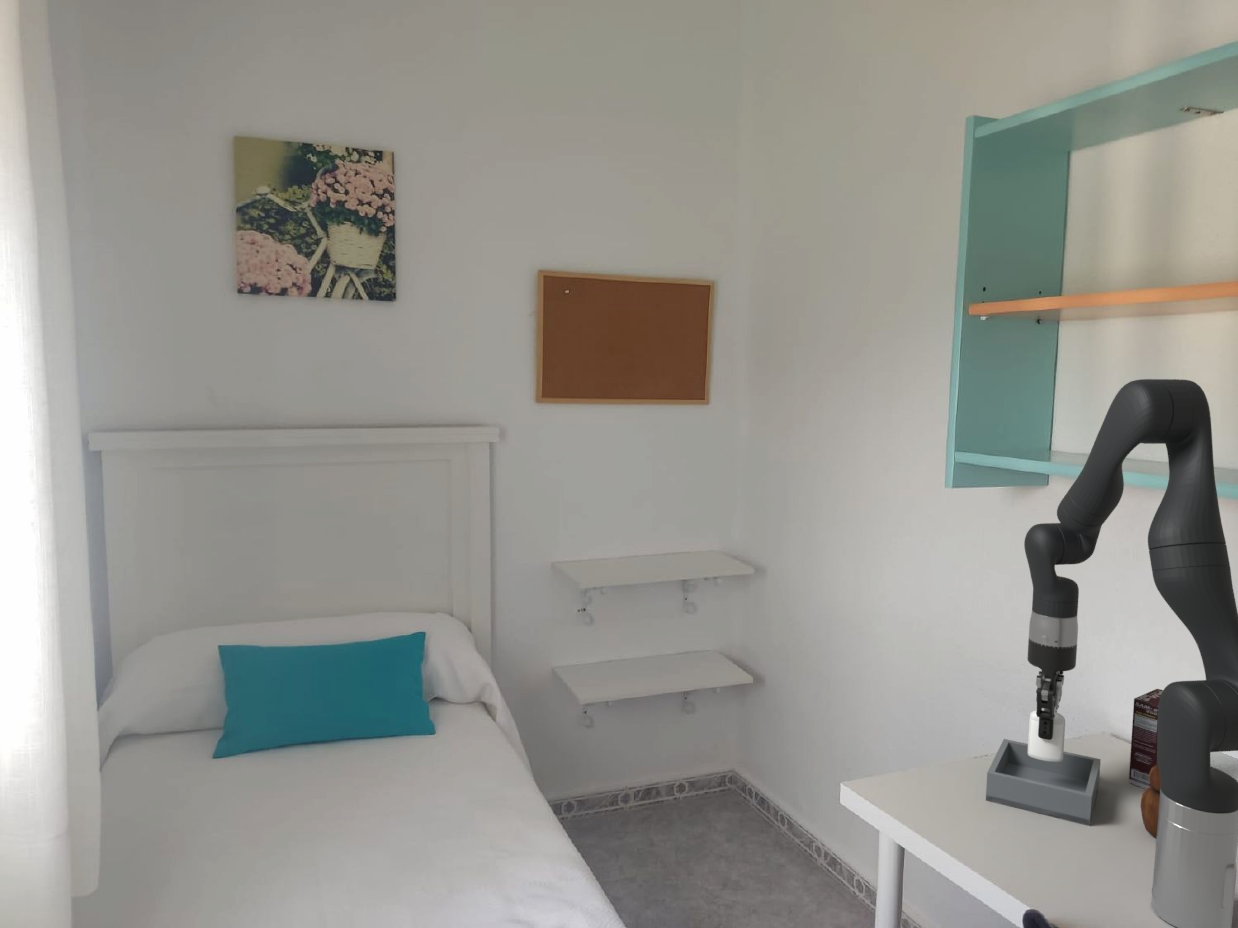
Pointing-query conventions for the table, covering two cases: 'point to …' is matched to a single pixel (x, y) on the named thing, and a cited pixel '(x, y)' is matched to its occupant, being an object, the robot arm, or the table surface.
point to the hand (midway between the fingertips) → (1046, 733)
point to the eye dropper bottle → (1044, 747)
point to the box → (1044, 783)
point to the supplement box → (1144, 738)
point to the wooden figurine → (1151, 802)
